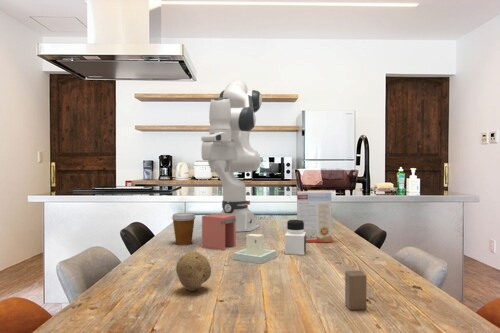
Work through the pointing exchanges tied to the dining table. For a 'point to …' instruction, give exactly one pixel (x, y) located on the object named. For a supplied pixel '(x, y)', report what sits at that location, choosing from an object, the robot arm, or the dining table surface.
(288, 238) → the medicine bottle
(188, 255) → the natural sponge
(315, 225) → the cracker box
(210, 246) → the block
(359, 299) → the wooden block
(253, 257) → the dish
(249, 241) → the tall beige block
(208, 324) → the dining table surface
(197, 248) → the dining table surface
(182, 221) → the disposable coffee cup
